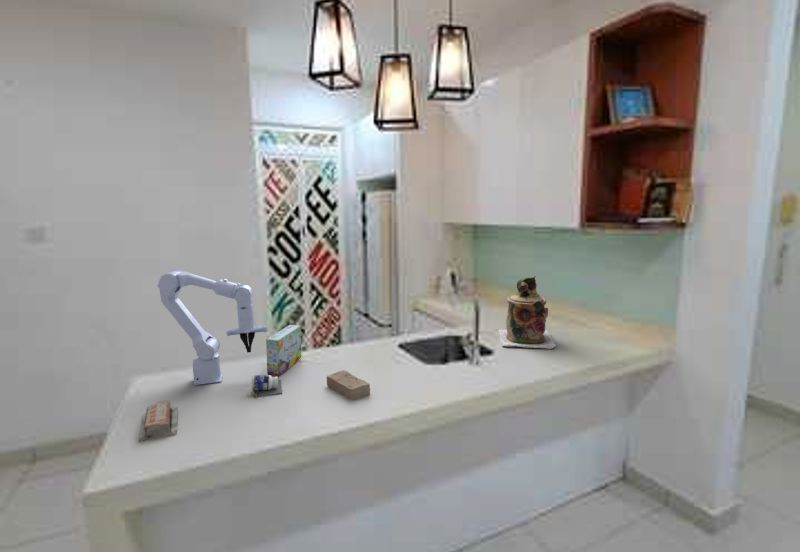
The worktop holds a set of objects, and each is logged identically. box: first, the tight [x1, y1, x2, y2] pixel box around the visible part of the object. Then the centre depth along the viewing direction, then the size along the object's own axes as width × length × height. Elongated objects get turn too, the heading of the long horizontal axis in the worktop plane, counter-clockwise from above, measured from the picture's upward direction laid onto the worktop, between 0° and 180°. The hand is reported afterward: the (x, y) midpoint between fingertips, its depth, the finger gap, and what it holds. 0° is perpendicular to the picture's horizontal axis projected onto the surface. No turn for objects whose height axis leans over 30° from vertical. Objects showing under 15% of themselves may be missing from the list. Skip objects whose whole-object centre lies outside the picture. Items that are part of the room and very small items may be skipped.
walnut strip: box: [253, 390, 258, 398], centre depth 163 cm, size 1×12×1 cm, turn 17°
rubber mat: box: [258, 379, 283, 398], centre depth 165 cm, size 8×12×1 cm, turn 17°
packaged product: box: [138, 400, 179, 443], centre depth 139 cm, size 18×5×10 cm
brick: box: [326, 369, 371, 401], centre depth 163 cm, size 17×8×5 cm, turn 42°
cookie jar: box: [498, 274, 557, 350], centre depth 215 cm, size 25×25×32 cm
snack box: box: [265, 324, 302, 378], centre depth 184 cm, size 21×6×15 cm, turn 168°
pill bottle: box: [251, 374, 279, 391], centre depth 162 cm, size 5×5×9 cm
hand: (249, 351), depth 173 cm, fingers closed
